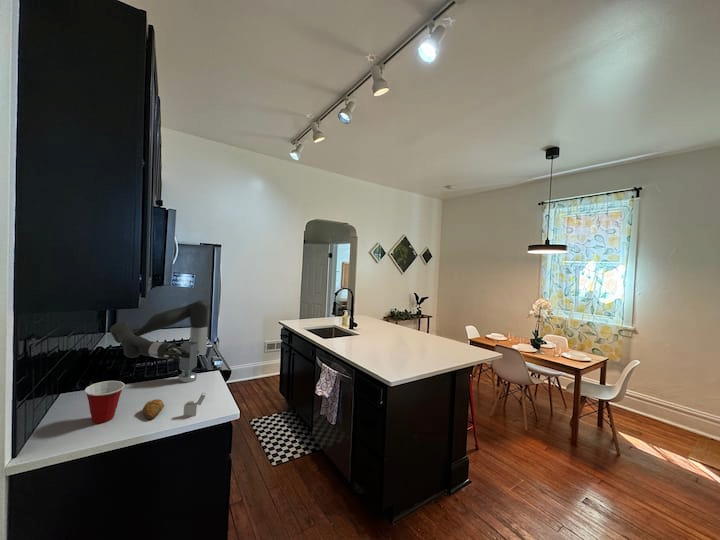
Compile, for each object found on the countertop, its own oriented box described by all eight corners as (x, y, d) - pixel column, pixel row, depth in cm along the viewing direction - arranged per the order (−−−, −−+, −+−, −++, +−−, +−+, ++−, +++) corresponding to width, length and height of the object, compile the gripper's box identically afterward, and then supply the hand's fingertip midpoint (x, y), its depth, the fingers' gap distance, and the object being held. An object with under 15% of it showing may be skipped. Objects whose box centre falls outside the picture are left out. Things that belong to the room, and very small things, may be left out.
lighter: (183, 417, 108) (184, 396, 108) (183, 415, 110) (185, 394, 110) (204, 414, 111) (206, 393, 111) (205, 412, 113) (206, 391, 113)
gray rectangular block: (179, 369, 139) (180, 344, 139) (187, 365, 144) (188, 341, 144) (189, 370, 138) (190, 345, 138) (196, 366, 143) (198, 342, 143)
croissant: (146, 405, 115) (147, 393, 115) (166, 403, 118) (167, 391, 118) (138, 423, 103) (138, 409, 103) (160, 420, 106) (161, 406, 106)
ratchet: (175, 370, 151) (176, 360, 151) (192, 368, 156) (192, 358, 156) (179, 384, 136) (179, 372, 136) (197, 381, 140) (198, 370, 140)
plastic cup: (99, 430, 97) (101, 394, 97) (74, 424, 99) (76, 390, 99) (130, 414, 108) (132, 382, 108) (107, 409, 110) (109, 378, 110)
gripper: (173, 353, 150) (203, 357, 148) (149, 362, 136) (182, 366, 133) (174, 339, 150) (204, 342, 148) (150, 346, 136) (183, 350, 133)
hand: (193, 354), depth 140 cm, fingers closed on gray rectangular block, 5 cm apart
